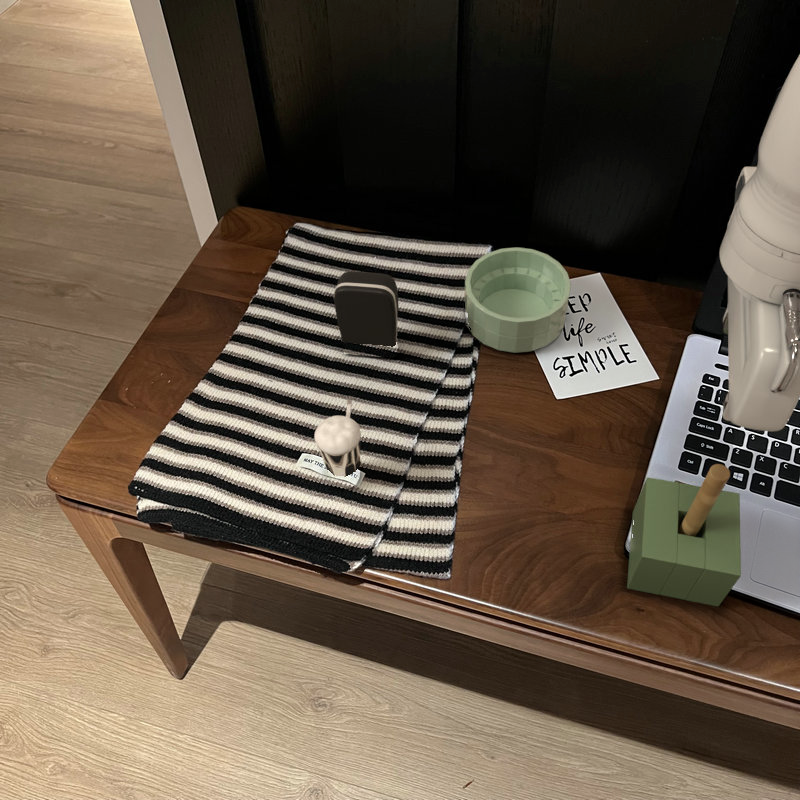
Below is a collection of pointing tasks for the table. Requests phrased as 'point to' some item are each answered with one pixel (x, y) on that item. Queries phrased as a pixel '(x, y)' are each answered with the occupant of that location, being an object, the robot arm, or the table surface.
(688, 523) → the stick
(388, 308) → the battery charger
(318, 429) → the milkshake
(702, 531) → the holder
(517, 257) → the bowl
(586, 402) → the table surface
